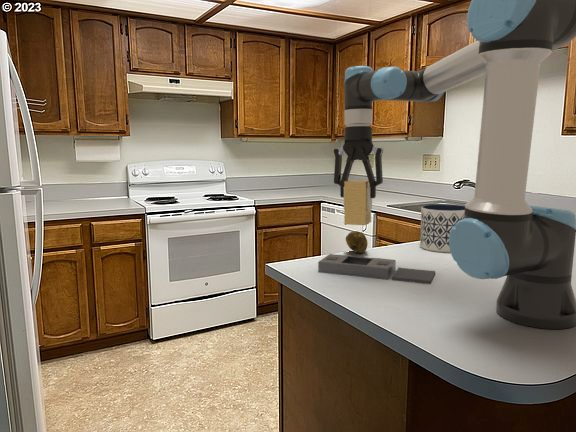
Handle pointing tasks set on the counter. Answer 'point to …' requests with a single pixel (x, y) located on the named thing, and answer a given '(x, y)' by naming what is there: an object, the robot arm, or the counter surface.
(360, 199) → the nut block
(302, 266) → the counter surface
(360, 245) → the potato
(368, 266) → the grey slotted block
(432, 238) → the planter
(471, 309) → the counter surface
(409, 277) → the pad
